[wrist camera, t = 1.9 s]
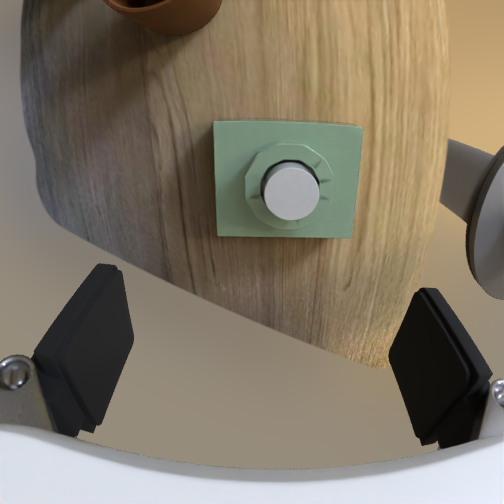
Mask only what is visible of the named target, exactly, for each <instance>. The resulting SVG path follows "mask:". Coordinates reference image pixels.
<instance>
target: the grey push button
mask: <svg viewBox="0 0 504 504" xmlns="http://www.w3.org/2000/svg"><path fill="white" fill-rule="evenodd" d="M264 199H265V203H266V205H267V207H268V209H269V210H270V211H271V212H272V213H273V214H274V215H275V216H277V217H279V218H281V219H284V220H298V219H302V218H304V217H306V216H307V215H309V214H310V213H311V212H312V211H313V210H314V209H315V207H316V205H317V203H318V200H319V187H318V184H317V182H316V180H315V179H314V177H313V175H312V174H311V172H310V171H309V170H308V169H307V168H306V167H304V166H303V165H301V164H298V163H294V162H286V163H281V164H279V165H277V166H275V167H274V168H272V169H271V170H270V171H269V173H268V174H267V176H266V178H265V181H264Z"/></svg>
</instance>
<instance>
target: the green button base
mask: <svg viewBox="0 0 504 504" xmlns="http://www.w3.org/2000/svg"><path fill="white" fill-rule="evenodd" d="M362 137H363V127H360V126H357V125H355V124H351V123H340V122H328V121H314V120H295V119H259V118H239V119H218V120H216V121H214V122H213V139H214V171H215V198H216V220H217V236H243V237H308V238H351V236H352V229H353V222H354V214H355V207H356V199H357V190H358V181H359V171H360V161H361V149H362ZM286 162H294V163H298V164H301V165H303V166H304V167H306V168H307V169H308V170H309V171H310V172H311V174H312V175H313V177H314V179H315V180H316V182H317V184H318V187H319V200H318V203H317V205H316V207H315V209H314V210H313V211H312V212H311V213H310V214H309V215H307V216H306V217H304V218H302V219H298V220H284V219H281V218H279V217H277V216H275V215H274V214H273V213H272V212H271V211H270V210H269V209H268V207H267V205H266V203H265V199H264V181H265V178H266V176H267V174H268V173H269V171H270V170H271V169H272V168H274V167H275V166H277V165H279V164H281V163H286Z"/></svg>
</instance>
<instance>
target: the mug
mask: <svg viewBox="0 0 504 504" xmlns="http://www.w3.org/2000/svg"><path fill="white" fill-rule="evenodd" d="M104 2H105V3H106V4H107V5H109V6H110V7H111V8H113V9H114V10H116V11H117V12H118V13H120V14H122V15H123V16H125V17H127V18H129V19H131V20H133V21H135V22H137V23H139V24H141V25H143V26H145V27H147V28H149V29H151V30H153V31H156V32H158V33H161V34H166V35H182V34H187V33H190V32H193V31H195V30H197V29H199V28H201V27H203V26H204V25H206V24H207V23H208V22H209V21H210V20H211V19H212V18H213V17H214V16H215V15H216V13H217V11H218V10H219V8H220V5H221V2H222V0H104Z"/></svg>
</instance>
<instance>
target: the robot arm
mask: <svg viewBox="0 0 504 504" xmlns="http://www.w3.org/2000/svg"><path fill="white" fill-rule="evenodd" d="M133 341H134V333H133V329H132V324H131V319H130V314H129V309H128V303H127V298H126V292H125V286H124V280H123V274H122V271H120V270H118V269H117V267H116V266H115V265H110V264H97V265H96V266H95V268H94V269H93V270H92V271H91V273H90V274H89V275H88V276H87V278H86V279H85V280H84V282H83V283H82V284H81V285H80V287H79V288H78V289H77V291H76V292H75V293H74V295H73V296H72V298H71V299H70V300H69V301H68V303H67V304H66V305H65V307H64V308H63V310H62V311H61V312H60V314H59V315H58V317H57V318H56V320H55V321H54V322H53V324H52V325H51V326H50V328H49V329H48V331H47V332H46V334H45V335H44V337H43V338H42V340H41V341H40V343H39V344H38V346H37V347H36V349H35V350H34V354H33V356H32V358H31V359H30V358H29V357H27V356H24V355H11V356H9V357H6V358H4V359H3V360H2V361H1V362H0V504H504V379H497V380H494V381H493V382H492V383H491V385H490V383H489V381H488V380H489V379H490V377H491V376H492V375H493V373H492V372H491V370H490V368H489V366H488V365H487V363H486V361H485V360H484V358H483V356H482V355H481V353H480V351H479V350H478V348H477V346H476V345H475V344H474V342H473V340H472V339H471V337H470V336H469V334H468V332H467V331H466V329H465V328H464V326H463V325H462V323H461V322H460V320H459V319H458V318H457V316H456V314H455V313H454V311H453V310H452V309H451V307H450V306H449V304H448V303H447V302H446V300H445V299H444V297H443V296H442V295H441V293H440V292H439V291H438V289H436V288H420V289H419V290H418V292H415V293H414V295H413V297H412V300H411V302H410V305H409V307H408V310H407V312H406V314H405V317H404V319H403V321H402V324H401V326H400V328H399V331H398V333H397V335H396V337H395V339H394V341H393V344H392V346H391V348H390V350H389V362H390V364H391V367H392V369H393V372H394V374H395V377H396V380H397V383H398V386H399V389H400V391H401V394H402V397H403V400H404V402H405V406H406V408H407V411H408V414H409V417H410V420H411V423H412V427H413V430H414V433H415V435H416V437H417V438H420V442H421V445H422V446H424V445H429V444H433V443H435V442H436V441H438V444H439V447H438V449H437V451H434V452H429V453H425V454H421V455H416V456H411V457H406V458H401V459H395V460H389V461H383V462H376V463H368V464H360V465H352V466H342V467H329V468H312V469H251V468H234V467H221V466H210V465H201V464H192V463H186V462H179V461H172V460H166V459H161V458H155V457H150V456H145V455H140V454H136V453H131V452H127V451H122V450H118V449H113V448H110V447H105V446H102V445H98V444H94V443H91V442H87V441H83V440H80V439H78V438H77V436H78V433H79V431H80V430H84V431H87V432H90V433H94V430H95V428H96V425H98V426H99V425H101V424H102V421H103V419H104V416H105V413H106V411H107V408H108V405H109V403H110V400H111V397H112V395H113V392H114V389H115V387H116V384H117V382H118V380H119V377H120V374H121V372H122V369H123V367H124V365H125V362H126V360H127V357H128V355H129V353H130V350H131V348H132V345H133Z"/></svg>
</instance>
